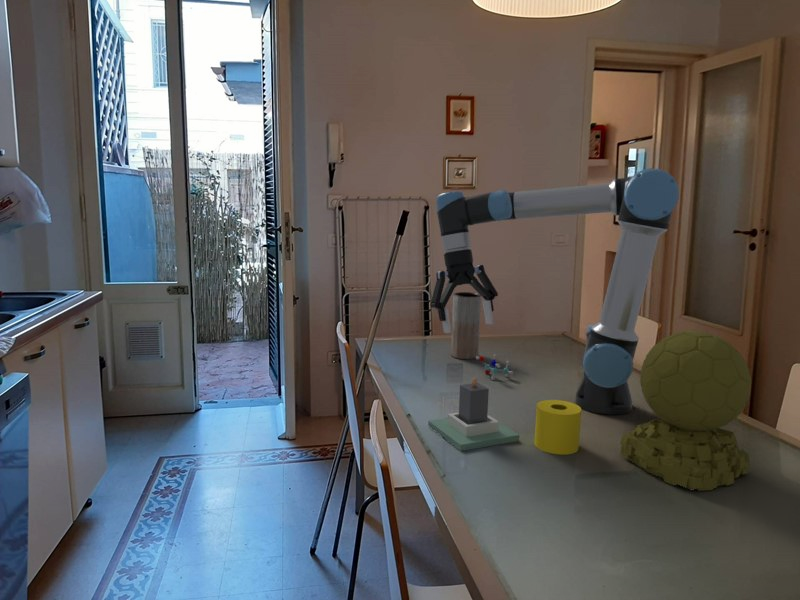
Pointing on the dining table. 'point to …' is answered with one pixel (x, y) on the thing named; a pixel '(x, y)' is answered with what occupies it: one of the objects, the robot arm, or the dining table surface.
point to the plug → (473, 403)
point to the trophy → (691, 412)
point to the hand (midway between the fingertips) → (469, 328)
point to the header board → (472, 432)
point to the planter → (465, 325)
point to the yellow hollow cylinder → (557, 427)
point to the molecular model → (494, 367)
